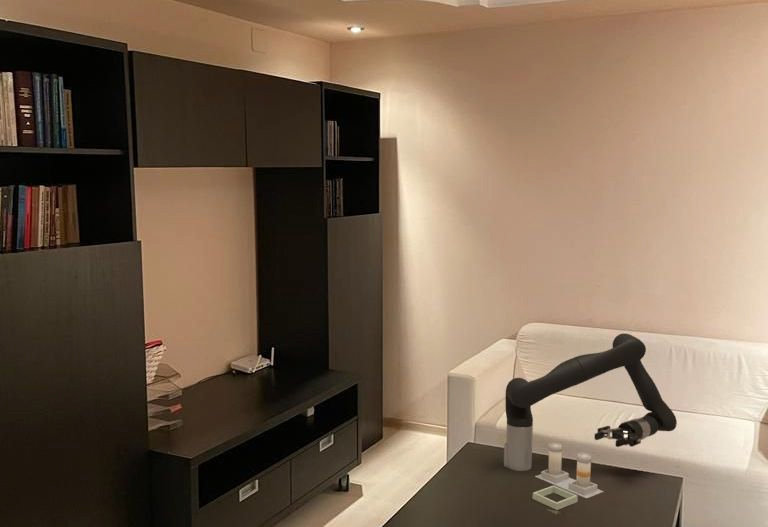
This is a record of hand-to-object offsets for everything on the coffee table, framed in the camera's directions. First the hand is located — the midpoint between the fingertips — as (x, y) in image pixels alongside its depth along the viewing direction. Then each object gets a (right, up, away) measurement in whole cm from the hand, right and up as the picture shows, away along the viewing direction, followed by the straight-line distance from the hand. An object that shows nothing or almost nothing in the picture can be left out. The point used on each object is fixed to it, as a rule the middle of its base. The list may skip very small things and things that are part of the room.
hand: (605, 440), depth 247 cm
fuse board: (-13, -16, 0) cm, 21 cm away
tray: (-20, -18, -13) cm, 30 cm away
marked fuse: (-9, -15, -5) cm, 19 cm away
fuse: (-16, -14, +5) cm, 22 cm away
